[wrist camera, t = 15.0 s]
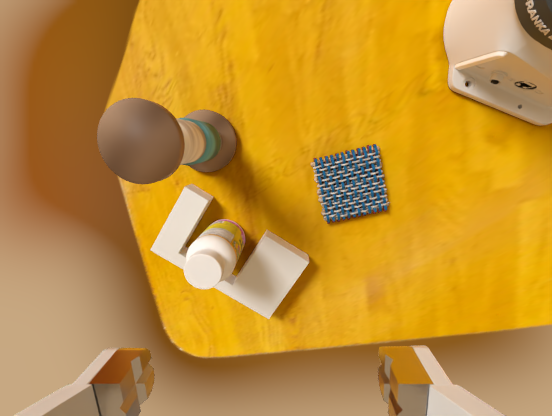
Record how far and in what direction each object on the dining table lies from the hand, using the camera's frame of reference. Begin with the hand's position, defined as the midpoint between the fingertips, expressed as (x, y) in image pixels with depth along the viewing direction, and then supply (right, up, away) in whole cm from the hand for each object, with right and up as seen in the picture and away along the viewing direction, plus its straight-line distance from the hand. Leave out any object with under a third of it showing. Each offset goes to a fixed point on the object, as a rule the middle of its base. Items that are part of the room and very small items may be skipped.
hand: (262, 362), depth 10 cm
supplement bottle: (-8, +1, +37) cm, 38 cm away
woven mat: (+12, +9, +34) cm, 37 cm away
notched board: (-7, -1, +37) cm, 37 cm away
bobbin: (-10, +16, +33) cm, 38 cm away
